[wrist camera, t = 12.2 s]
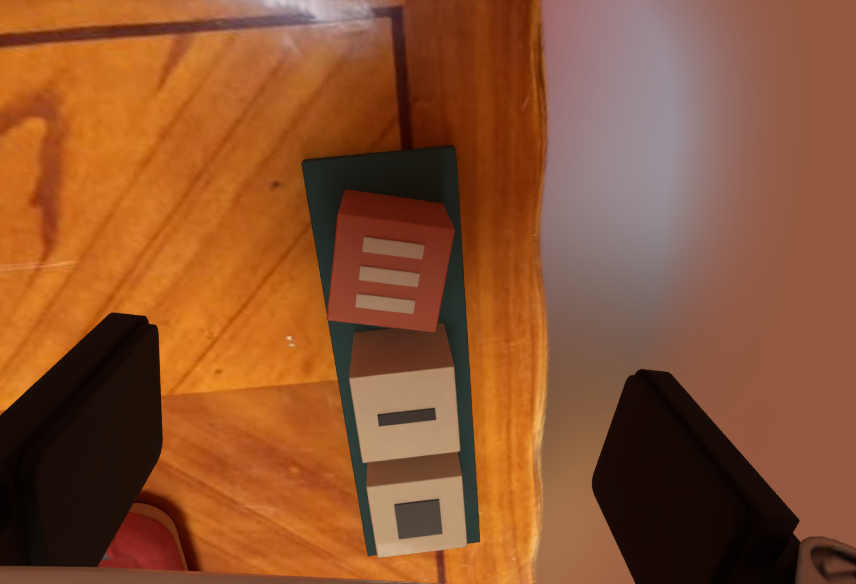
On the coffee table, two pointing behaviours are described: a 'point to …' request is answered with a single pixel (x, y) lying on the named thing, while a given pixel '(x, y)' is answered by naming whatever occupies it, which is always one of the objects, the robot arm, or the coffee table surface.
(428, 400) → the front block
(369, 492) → the block
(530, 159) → the coffee table surface
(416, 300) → the red striped block
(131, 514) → the toy boat
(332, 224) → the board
